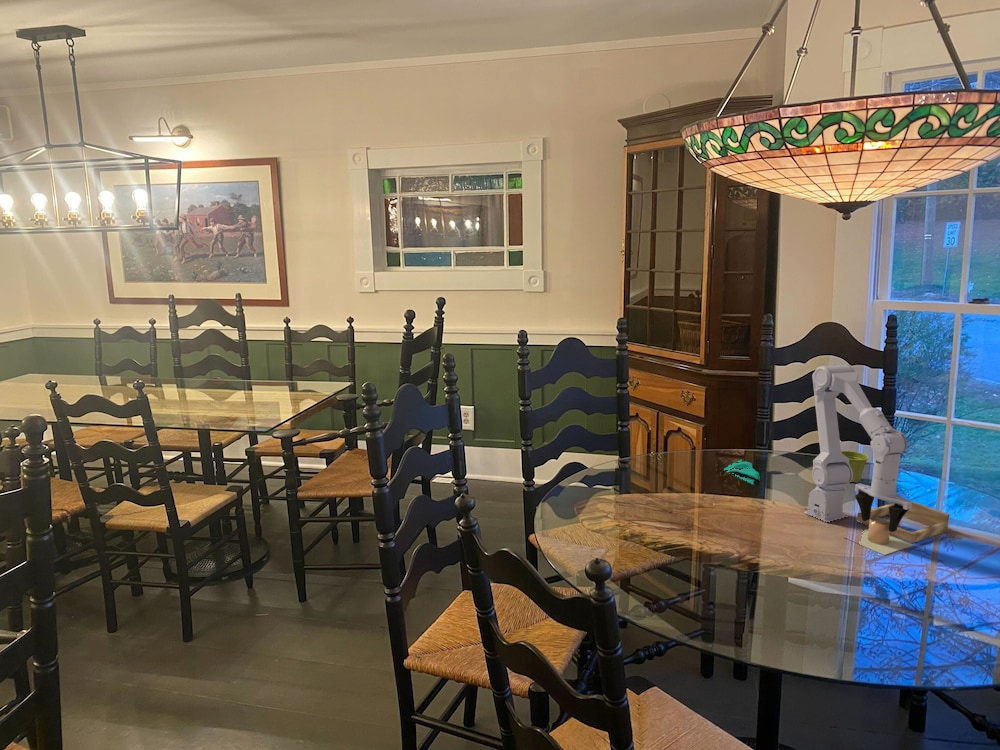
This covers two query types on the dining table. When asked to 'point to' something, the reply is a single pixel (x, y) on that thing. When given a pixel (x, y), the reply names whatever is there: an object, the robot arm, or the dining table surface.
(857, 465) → the plant pot
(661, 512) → the dining table surface
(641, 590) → the dining table surface
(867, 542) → the potting mat
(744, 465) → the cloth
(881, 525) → the terracotta pot
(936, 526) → the cold frame
